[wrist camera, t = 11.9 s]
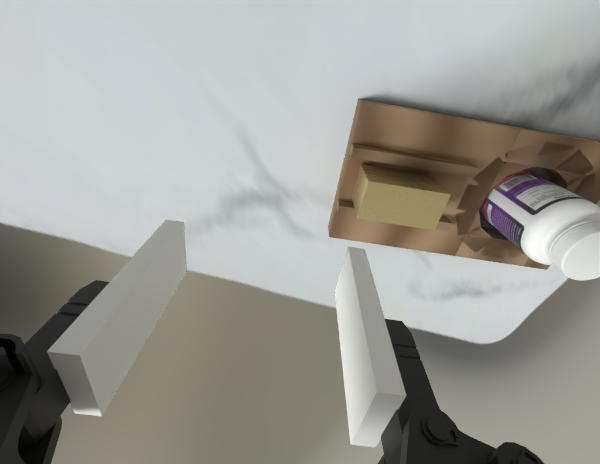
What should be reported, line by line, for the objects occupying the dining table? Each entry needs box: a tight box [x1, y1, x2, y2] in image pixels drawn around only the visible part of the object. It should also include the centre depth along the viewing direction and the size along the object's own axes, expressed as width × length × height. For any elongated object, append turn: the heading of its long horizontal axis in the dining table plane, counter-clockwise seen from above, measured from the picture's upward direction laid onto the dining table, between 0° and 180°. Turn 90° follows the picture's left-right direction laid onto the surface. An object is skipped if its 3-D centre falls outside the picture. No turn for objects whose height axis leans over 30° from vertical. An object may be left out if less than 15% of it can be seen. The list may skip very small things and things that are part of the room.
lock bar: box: [351, 164, 451, 230], centre depth 23 cm, size 6×3×4 cm, turn 81°
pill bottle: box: [480, 171, 600, 280], centre depth 23 cm, size 5×5×10 cm
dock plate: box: [328, 99, 600, 270], centre depth 26 cm, size 22×12×3 cm, turn 81°
